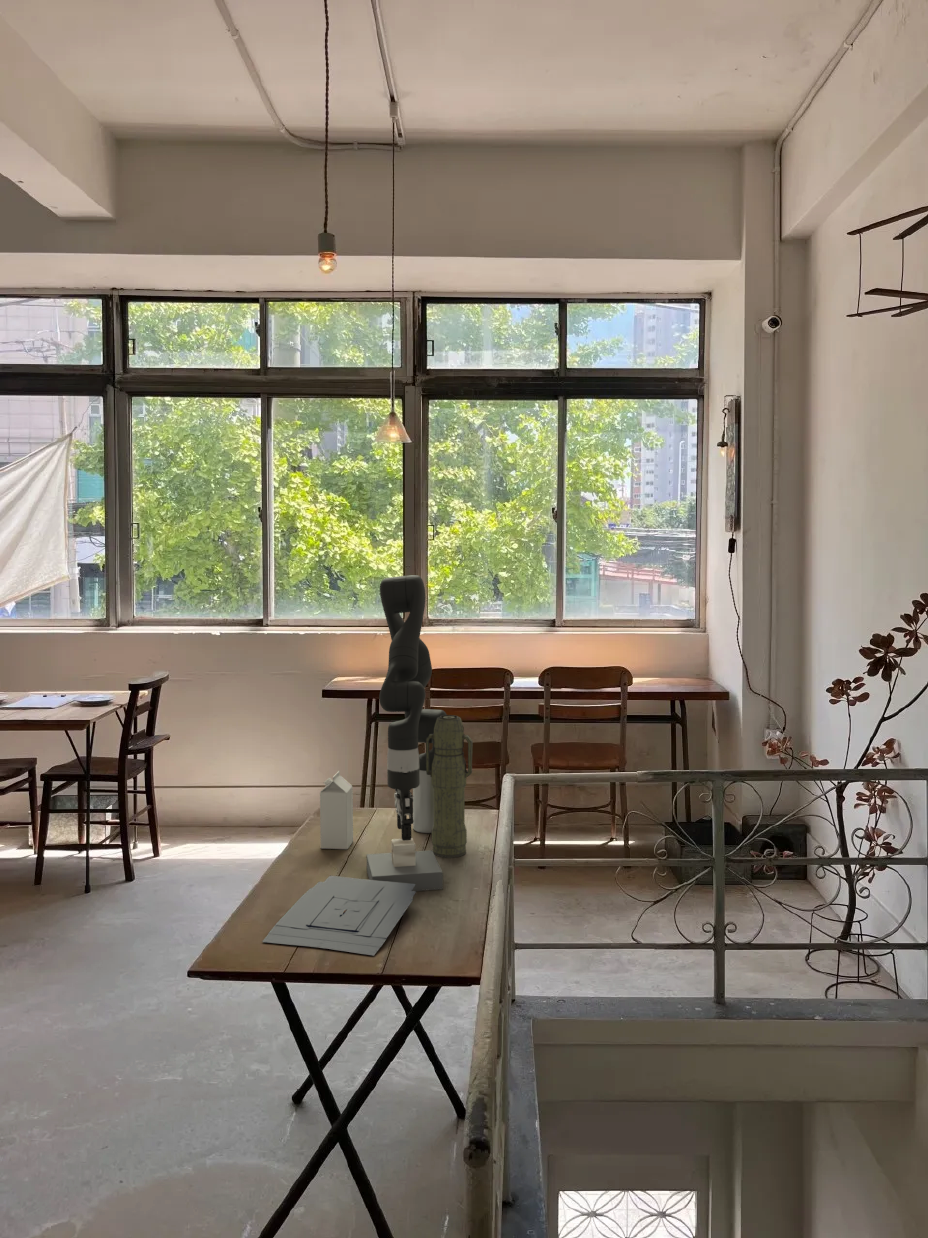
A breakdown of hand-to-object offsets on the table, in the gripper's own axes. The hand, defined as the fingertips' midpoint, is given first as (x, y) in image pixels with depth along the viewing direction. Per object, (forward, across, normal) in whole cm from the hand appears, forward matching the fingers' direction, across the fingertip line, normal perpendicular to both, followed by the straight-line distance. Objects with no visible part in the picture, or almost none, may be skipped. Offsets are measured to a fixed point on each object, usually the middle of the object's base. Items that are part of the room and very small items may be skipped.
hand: (404, 834), depth 230 cm
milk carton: (+11, -29, -14) cm, 34 cm away
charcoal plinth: (+11, 0, 0) cm, 11 cm away
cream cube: (+7, 0, 0) cm, 7 cm away
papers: (+11, +23, -15) cm, 30 cm away
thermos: (+11, -18, +14) cm, 25 cm away
